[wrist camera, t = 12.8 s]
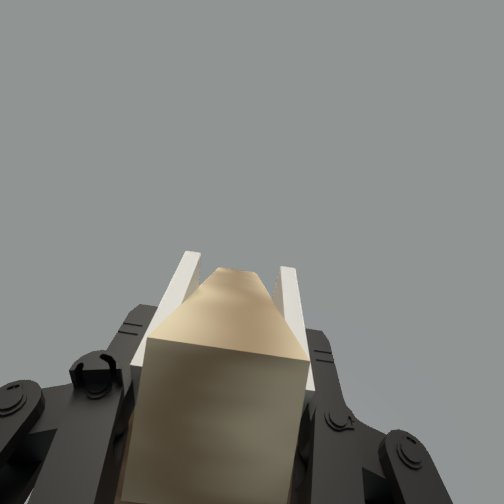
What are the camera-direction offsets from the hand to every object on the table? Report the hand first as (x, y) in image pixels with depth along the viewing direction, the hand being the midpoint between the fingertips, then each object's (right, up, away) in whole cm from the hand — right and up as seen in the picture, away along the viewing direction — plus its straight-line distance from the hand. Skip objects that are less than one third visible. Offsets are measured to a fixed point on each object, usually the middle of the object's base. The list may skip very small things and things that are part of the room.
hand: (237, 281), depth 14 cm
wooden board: (-1, -5, +4) cm, 6 cm away
